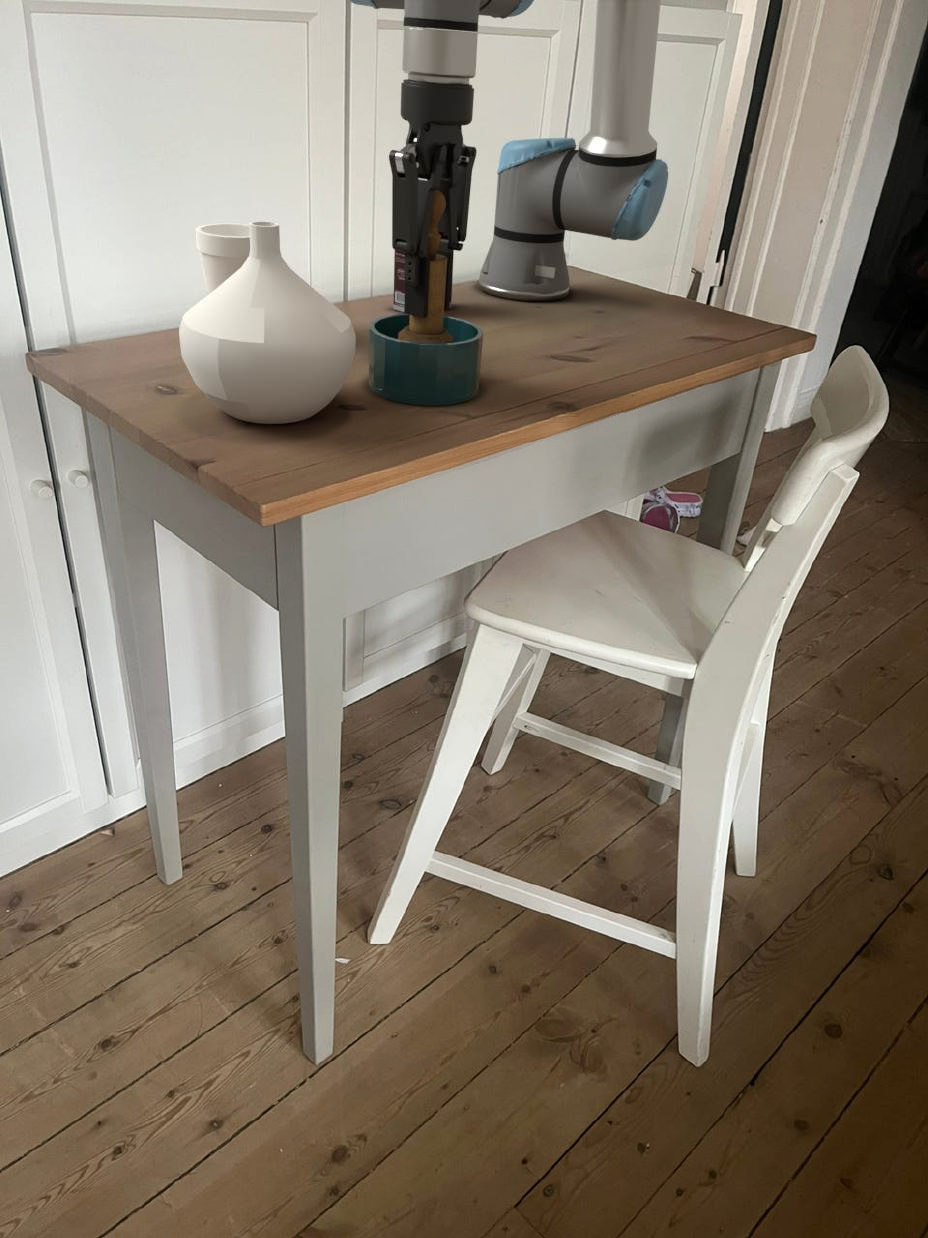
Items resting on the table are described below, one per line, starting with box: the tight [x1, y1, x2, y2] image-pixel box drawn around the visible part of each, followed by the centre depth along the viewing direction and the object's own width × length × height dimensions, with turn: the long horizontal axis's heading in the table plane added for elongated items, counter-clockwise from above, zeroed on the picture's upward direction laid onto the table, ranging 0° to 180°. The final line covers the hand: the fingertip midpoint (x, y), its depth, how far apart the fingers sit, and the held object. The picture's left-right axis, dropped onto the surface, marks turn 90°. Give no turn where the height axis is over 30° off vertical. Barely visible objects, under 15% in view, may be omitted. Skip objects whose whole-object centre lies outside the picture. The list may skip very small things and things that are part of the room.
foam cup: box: [194, 222, 250, 296], centre depth 125 cm, size 10×9×13 cm
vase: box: [178, 220, 357, 425], centre depth 99 cm, size 18×18×19 cm
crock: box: [368, 313, 484, 407], centre depth 112 cm, size 13×13×7 cm
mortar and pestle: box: [398, 190, 453, 344], centre depth 107 cm, size 7×6×18 cm
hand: (427, 310), depth 109 cm, fingers closed on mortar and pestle, 4 cm apart
